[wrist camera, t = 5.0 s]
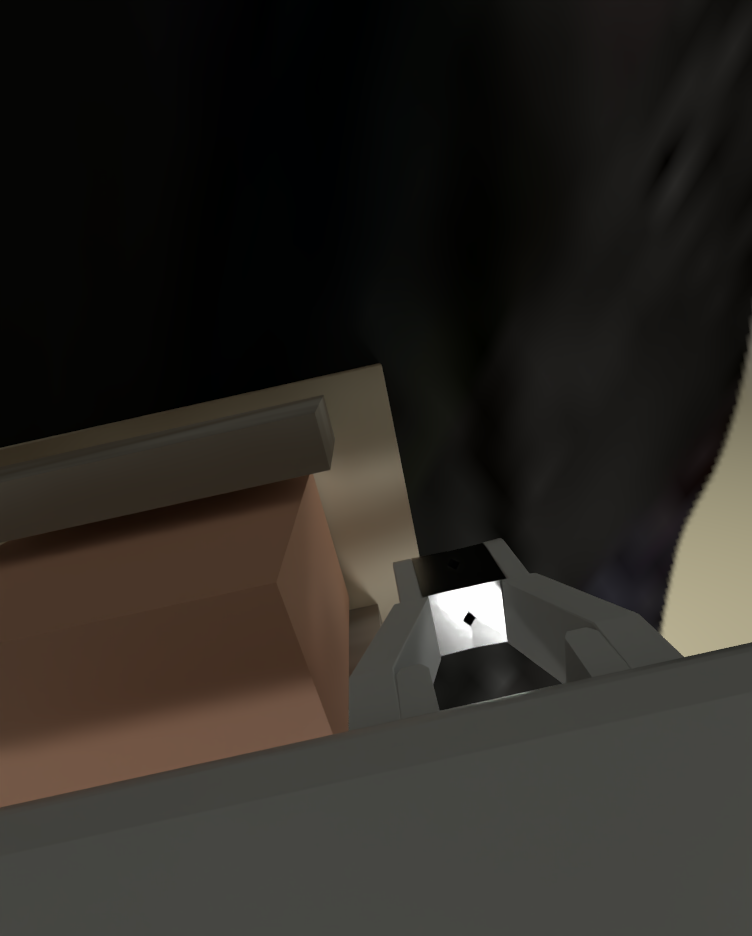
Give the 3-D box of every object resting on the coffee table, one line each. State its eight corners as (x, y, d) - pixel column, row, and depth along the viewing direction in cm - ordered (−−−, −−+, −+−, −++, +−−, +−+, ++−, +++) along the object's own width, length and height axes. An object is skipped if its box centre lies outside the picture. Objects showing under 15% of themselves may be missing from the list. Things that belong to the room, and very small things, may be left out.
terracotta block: (23, 531, 12) (-265, 700, 6) (311, 468, 12) (276, 582, 6) (99, 652, 14) (-71, 863, 8) (349, 597, 14) (348, 774, 8)
